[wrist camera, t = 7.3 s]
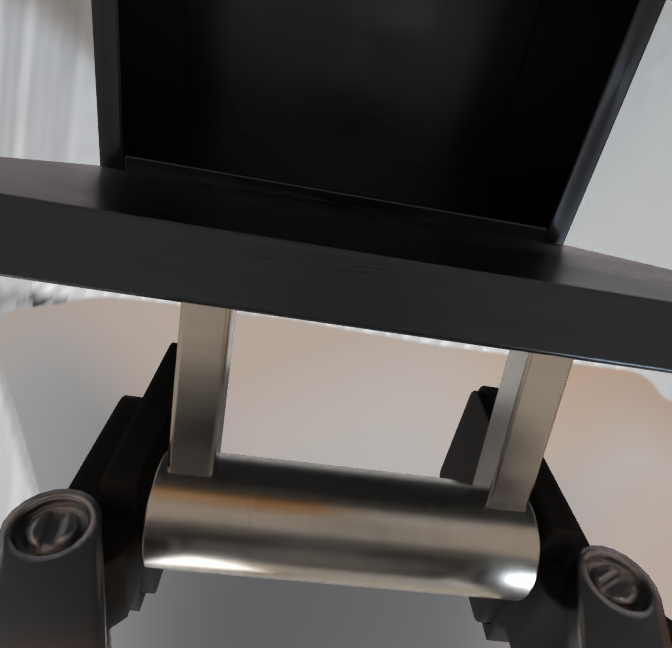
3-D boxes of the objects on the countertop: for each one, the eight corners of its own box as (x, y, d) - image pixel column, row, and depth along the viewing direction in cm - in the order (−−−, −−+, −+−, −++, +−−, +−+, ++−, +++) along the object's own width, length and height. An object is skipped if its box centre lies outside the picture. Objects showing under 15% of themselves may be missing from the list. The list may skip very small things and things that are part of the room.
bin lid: (-518, 111, 4) (-374, 633, 6) (1108, 372, 6) (890, 720, 7) (94, 165, 16) (88, 327, 17) (569, 245, 18) (527, 387, 19)
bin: (175, -184, 19) (70, -347, 11) (581, -84, 20) (737, -166, 13) (171, 135, 24) (99, 174, 17) (490, 192, 26) (560, 252, 18)
